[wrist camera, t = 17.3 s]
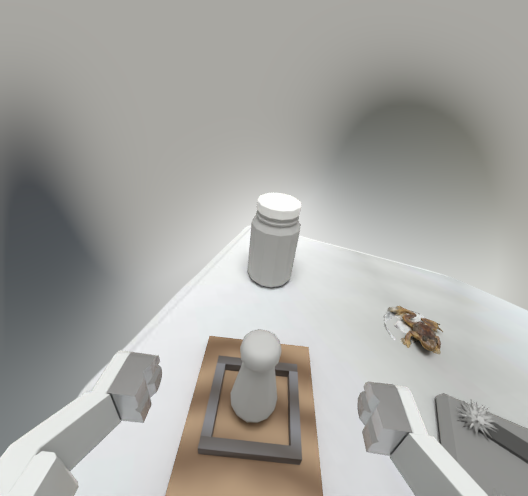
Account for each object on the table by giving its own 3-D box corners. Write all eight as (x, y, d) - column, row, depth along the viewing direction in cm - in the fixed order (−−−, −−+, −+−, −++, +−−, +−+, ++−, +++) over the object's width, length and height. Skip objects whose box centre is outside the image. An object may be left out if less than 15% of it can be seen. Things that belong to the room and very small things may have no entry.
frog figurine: (463, 368, 45) (475, 355, 43) (390, 353, 46) (398, 339, 44) (437, 318, 54) (446, 304, 52) (377, 306, 55) (384, 293, 53)
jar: (287, 263, 64) (300, 192, 54) (294, 290, 56) (310, 213, 46) (246, 261, 63) (252, 189, 53) (247, 289, 55) (255, 210, 45)
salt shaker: (239, 378, 37) (245, 313, 30) (278, 391, 36) (294, 328, 29) (222, 421, 32) (224, 356, 25) (267, 438, 31) (282, 376, 24)
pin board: (322, 525, 27) (329, 517, 25) (164, 508, 27) (161, 498, 25) (306, 352, 44) (310, 341, 42) (209, 341, 43) (209, 329, 42)
